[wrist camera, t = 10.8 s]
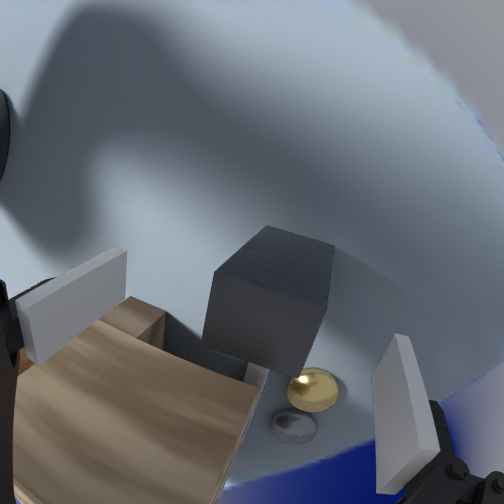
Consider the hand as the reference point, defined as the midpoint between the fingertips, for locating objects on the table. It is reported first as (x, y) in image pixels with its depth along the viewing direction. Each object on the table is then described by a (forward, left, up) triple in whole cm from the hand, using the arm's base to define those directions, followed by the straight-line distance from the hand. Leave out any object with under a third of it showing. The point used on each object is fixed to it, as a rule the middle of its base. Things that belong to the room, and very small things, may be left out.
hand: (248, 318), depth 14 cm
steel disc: (+16, +6, -10) cm, 20 cm away
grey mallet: (+9, +1, -10) cm, 14 cm away
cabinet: (+17, -6, -10) cm, 21 cm away
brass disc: (+11, +6, -10) cm, 16 cm away
